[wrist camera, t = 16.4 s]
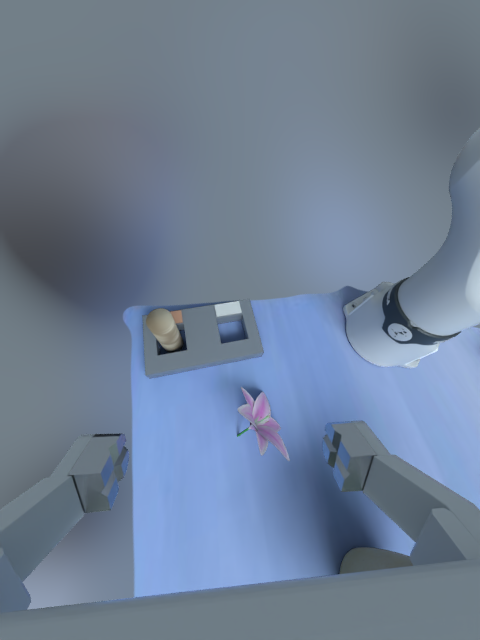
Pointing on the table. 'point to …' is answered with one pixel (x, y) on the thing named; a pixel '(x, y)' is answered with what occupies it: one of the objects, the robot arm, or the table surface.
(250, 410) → the lily
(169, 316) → the peg
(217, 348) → the socket deck
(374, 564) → the plant pot
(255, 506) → the table surface
